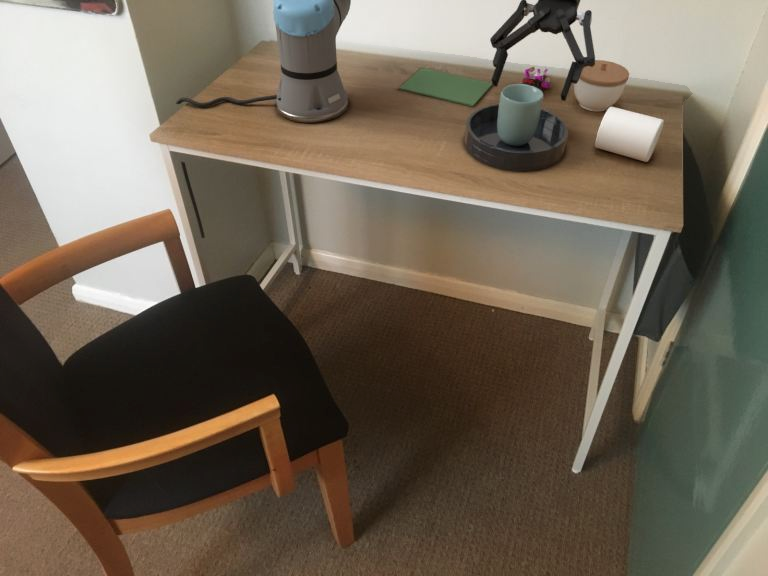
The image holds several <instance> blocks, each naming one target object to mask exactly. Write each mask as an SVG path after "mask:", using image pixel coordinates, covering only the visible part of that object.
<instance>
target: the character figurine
mask: <svg viewBox="0 0 768 576" xmlns="http://www.w3.org/2000/svg"><path fill="white" fill-rule="evenodd" d="M524 71H525V74H524V75H525V77H524V78H523V79H522V84H525V85H530V86H533V87H536V88H538V89H540V88H542V89H549V84H550V80H551V78H550V77H547V76H546V74H547V72H548V71H549V69H548V68H545V69H544V71H542V72H541V68H537V69H535V66H530V67H529V68H526V69H524ZM534 71H536V73H535V74H533V75H532V76H531V75H530V74H531V73H533V72H534ZM545 76H546V77H545ZM544 77H545V79H544ZM543 82H544V83H543Z"/></svg>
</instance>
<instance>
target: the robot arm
mask: <svg viewBox="0 0 768 576" xmlns="http://www.w3.org/2000/svg"><path fill="white" fill-rule="evenodd" d="M351 2H352V0H273V10H272V13H273V20H274V25H275V31H276V33H275V34H276V41H277V48H278V57H279V62H280V63H279V64H280V72H281V73H280V78H279V84H278V88H277V92H276V93H277V94H274V95H265V96H259V97H253V98H249V99H236V98H233V97H230V96H222V97H217V98H214V99H212V100H210V101H207V102H199V101H196V100H195V99H192V98H189V97H184V96H183V97H180V98H179V99H178V100H176V102H175V104H176V105H180V104H182V103H183V102H185V103H188V104H191V105H193V106H196V107H200V108H202V107H203V108H205V107H211V106H212V105H213V106H214V105H216V104H218V103H221V102H231V103H233V104H237V105H247V104H253V103H257V102H258V103H259V102H264V101H273V100H276V110H277V112H278V114H279V115H281V116H282V117H283V118H285V119H286V120H290V121H291V122H296V123H305V124H306V123H307V124H312V123H313V124H314V123H315V124H316V123H323V122H327V121H331V120H333V119H335V118H338V117H340V116H342V114H344V113H345V111H346V110H347V109H348V105H349V104H348V95H347V91H346V90H345V87H344V84H343V82H342V79H341V76H340V74H339V70H338V59H337V58H338V57H337V41H336V40H337V35H338V33H339V31H340V29H341V26H342V25H343V22H344V21H345V20H346V18H347V16H348V15H349V12H350V9H351V5H352V4H351ZM580 3H581V0H537V2H536V3H535V4H533V3H529V2H527V0H521V1H520V2H519V4H518V6H517V9H516V10H515V11H514V12H513V13H512V14H511V15H510V17H508V19H507V20H505V22H504V23H503V24H502V25H501V26H500V27H499V28H498V29H497V30H496V32H495V33H494V34H493V35H492V36H491V37H490V39H489V41H490V45H491V47H492V48H493V49H496V51H495V53H494V56H493V60H492V66H493V67H494V71H493V74H492V77H491V80H490V81H491V83H493V85H492V86H494V87H498V86H499V82H500V80H501V76H502V74H503V71H504V67H505V65H506V63H507V59H508V56H509V53H508V50H509V49H511V48H513V47H514V46H515V45H517V44H518V43H520V42H521V41H523V40H524V39H525V38H527V37H528V36H530V35H531V34H534V33H536V32H537V31H539V30H540V32H541V33H551V34H553V35H558V34H561V33H562V36H563V38H564V40H565V41H566V43H567V45H568V49H569V50H570V52H571V55H572V57H573V59H574V60H573V61H572V62H571V64H570V67H569V70H568V73H567V75H566V78H565V81H564V84H563V87H562V89H561V92H560V99H561V102H566V101H567V98H568V95H569V92H570V90H571V87H572V84H573V85H574V84H577V82H578V81H579V78H580V75H581V72H582V69H583V68H584V67H586V66H590V67H593V66H594V65H595V60H596V55H595V49H594V41H593V35H592V29H591V26H592V25H591V24H592V20H593V15H592V14H593V12H592V10H590V9H587V10H585V12H578V9H579V6H580ZM530 13H532V15H533V16H532V17H531V18H529V19H528V20H527V22H525V23H524V24H522V25H521V26H520V27H519V28H517V29H516V27H517V26H519V24H520V23H521V22H522V21H523V20H524V18H525V17H527V16H529V14H530ZM576 21H578V22H579V26H581V27H582V31H583V33H582V34H583V39H584V44H585V45H584V47H585V50H586V51H585V52H586V56H584V55H583V53H582V51H581V49H580V46H579V44H578V42H577V40H576V37H575V35H574V33H573V31H572V28H571V25H573V24H574V23H575V22H576ZM513 30H514V31H513ZM180 164H181V168H182V172H183V176H184V179H185V180H184V181H185V183H186V187H187V190H188V195H189V197H190V200H191V203H192V204H191V205H192V207H193V210H194V214H195V218H196V221H197V225H198V229H199V233H200V237H201V239H205V238H206V236H205V232H204V228H203V223H202V220H201V216H200V212H199V209H198V205H197V202H196V199H195V194H194V192H193V189H192V185H191V181H190V178H189V174H188V170H187V166H186V162H184V161H180Z"/></svg>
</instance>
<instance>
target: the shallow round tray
mask: <svg viewBox="0 0 768 576" xmlns="http://www.w3.org/2000/svg"><path fill="white" fill-rule="evenodd" d="M498 108H499V102H497V103H493V104H492V103H491V104H489V105H488V104H487V105H485V106H481V107H479V108H478V109H476V110H473V112H471V113H470V114H469V116H468V117H467V119H466V123H465V131H464V146H465V149H466V150H467V153H469V154H470V156H471V157H472V158H474V159H475V160H477V161H478V162H480V163H482V164H484V165H487V166H489V167H492V168H495V169H499V170H502V171H509V172H533V171H539V170H543V169H546V168H549V167H552V166H553V165H555V164H556V163H558V162H559V161H560V160H561V159H562V158H563V155H564V152H565V149H566V147H567V141H568V138H569V128H568V125H567V124H566V122H565V121H564V120H563V119H562V117H560V116H559V115H557V114H556V113H554V112H552V111H550V110H548V109H545V108H541V113H540V118H539V122H538V126H537V129H536V132H535V134H534V136H533V138H532V139H531V140H530V141H529V142H528V143H527V144H525V145H522V146H511V145H508V144H506V143H504V142H503V141H501V139H500V138H499V136H498V132H497V116H498Z"/></svg>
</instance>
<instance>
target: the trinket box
mask: <svg viewBox="0 0 768 576" xmlns="http://www.w3.org/2000/svg"><path fill="white" fill-rule="evenodd" d="M629 77H630V72H629V70H628V69H627V68H626V67H625V66H623V65H621V64H619V63H616V62H614V61H609V60H604V59H603V60H601V59H595V65H594V66H593V67H590V66H586V67H584V68H583V69H582V72H581V75H580V78H579V81H578V82H577V84H574V83H573V93H574V96H575V99H576V100H577V102H578V103H579V106H580V107H581V108H582V109H584V110H586V111H590V112H598V113H599V112H604V111H607V110H608V109H609V107H613V105H615V104H616V103H617V102H618V101H619V99H620V98H621V97H622V95H623V93H624V91H625V89H626V86H627V82H628V80H629Z"/></svg>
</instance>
